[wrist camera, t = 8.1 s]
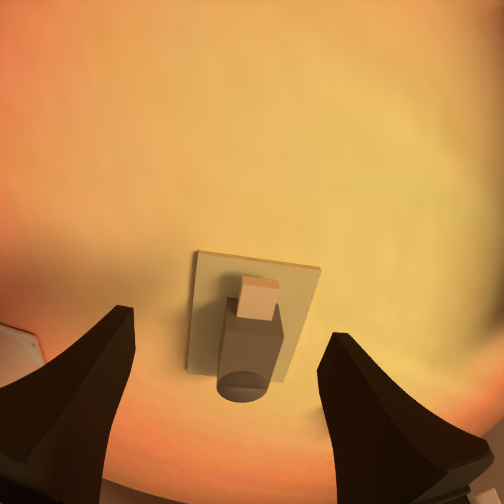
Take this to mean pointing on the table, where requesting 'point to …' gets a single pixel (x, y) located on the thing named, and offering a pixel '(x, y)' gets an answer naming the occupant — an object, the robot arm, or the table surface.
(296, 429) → the table surface
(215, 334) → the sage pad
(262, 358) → the tan-capped grey bottle
